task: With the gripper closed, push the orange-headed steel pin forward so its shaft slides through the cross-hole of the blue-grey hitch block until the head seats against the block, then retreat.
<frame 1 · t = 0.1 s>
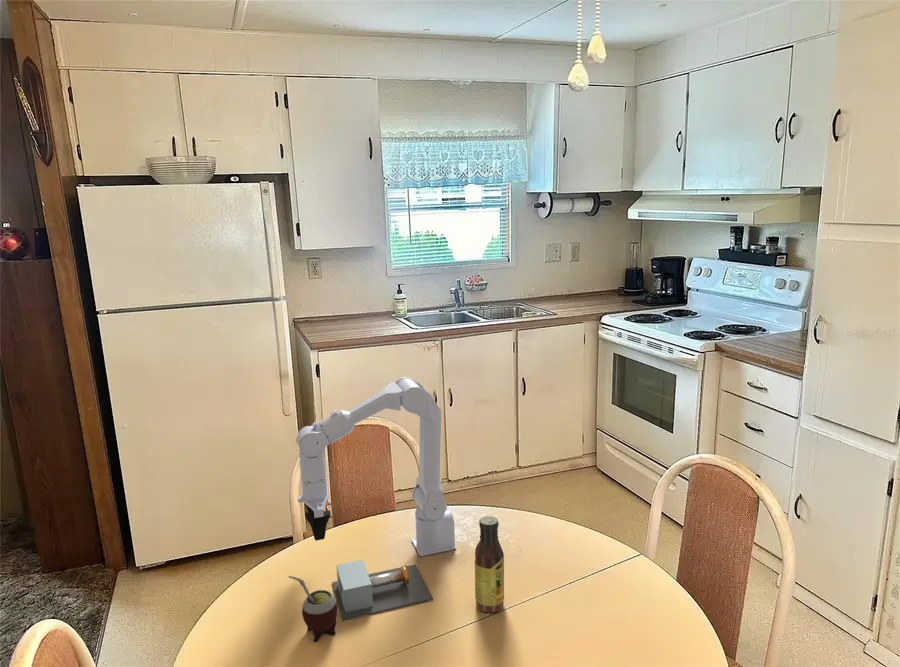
hand: (317, 531, 150), 10 cm above the table, tool pointing down, fingers open, 7 cm apart
mat: (381, 591, 143), on the table
hitch block: (355, 597, 141), resting on mat
sauce bottle: (489, 605, 137), on the table
mate gourd: (319, 634, 130), on the table
pin: (383, 580, 142), point 3 cm above the table, slide at 0.0 cm
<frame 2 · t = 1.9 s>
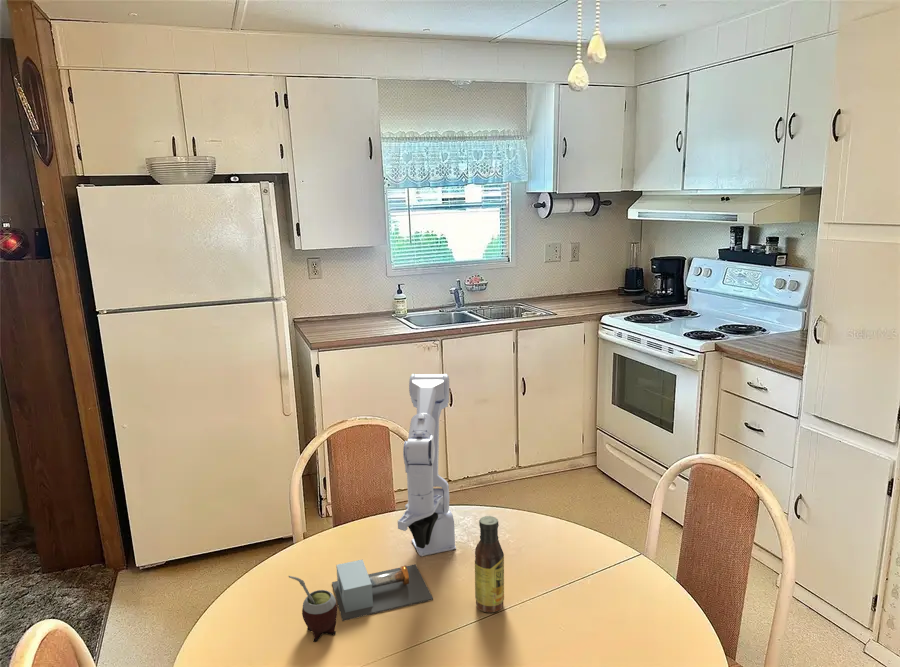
hand: (422, 545, 144), 9 cm above the table, tool pointing down, fingers closed
nothing on the table moved.
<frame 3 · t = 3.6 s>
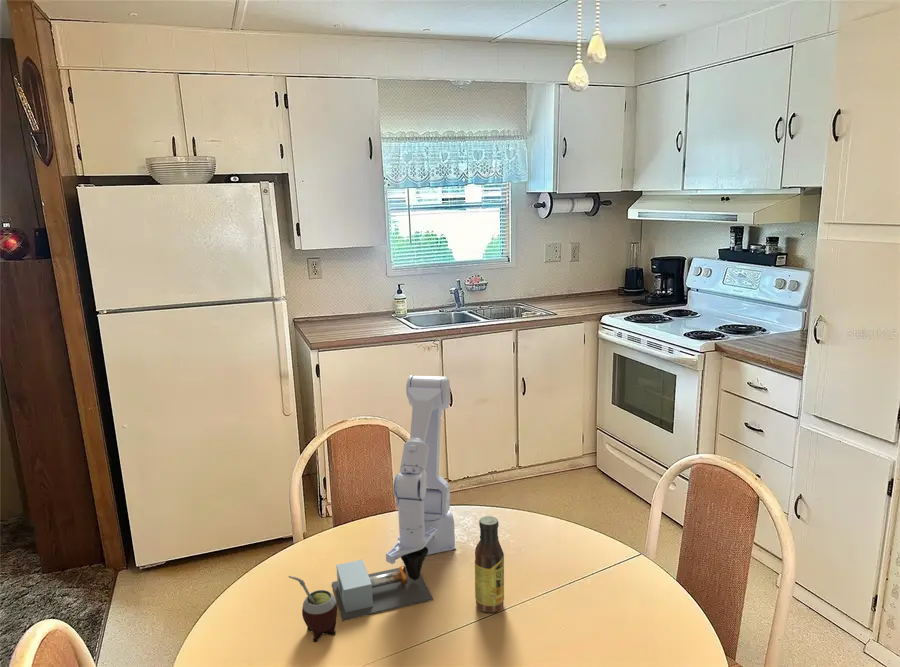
hand: (413, 577, 145), 2 cm above the table, tool pointing down, fingers closed
pin: (381, 580, 142), point 3 cm above the table, slide at 0.4 cm, touching gripper
everything else where it was.
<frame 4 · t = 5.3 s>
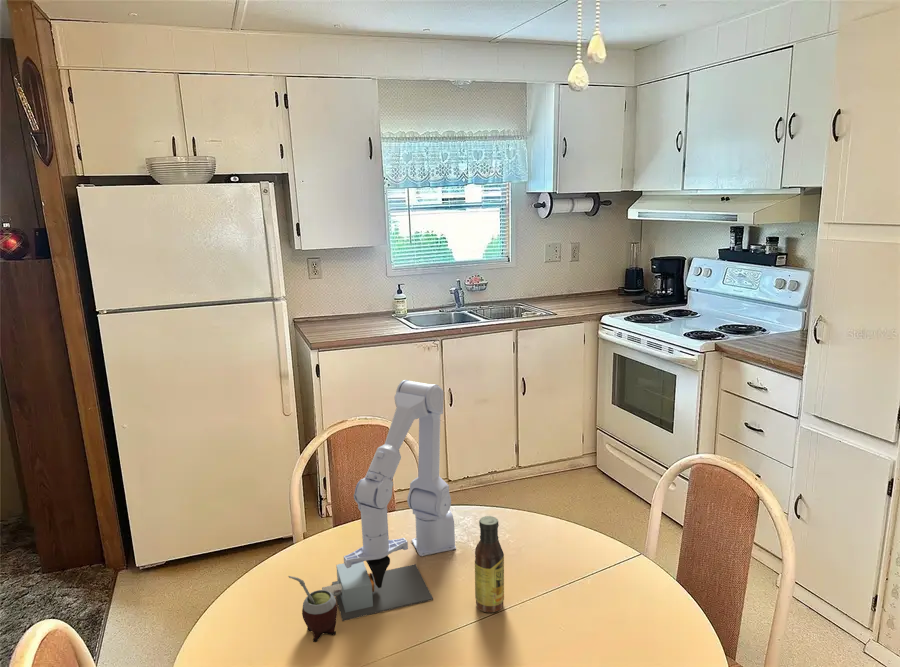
hand: (378, 585, 142), 2 cm above the table, tool pointing down, fingers closed
pin: (347, 587, 140), point 3 cm above the table, slide at 7.9 cm, touching gripper
everything else where it was.
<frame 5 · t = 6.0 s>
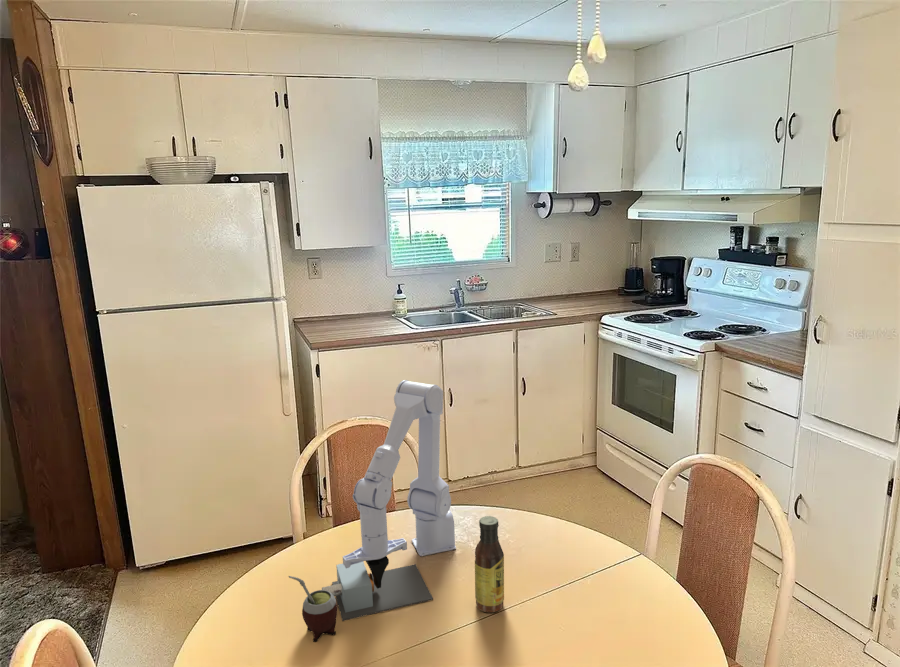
hand: (377, 585, 142), 2 cm above the table, tool pointing down, fingers closed
pin: (347, 587, 140), point 3 cm above the table, slide at 8.0 cm, touching gripper, hitch block
everything else where it was.
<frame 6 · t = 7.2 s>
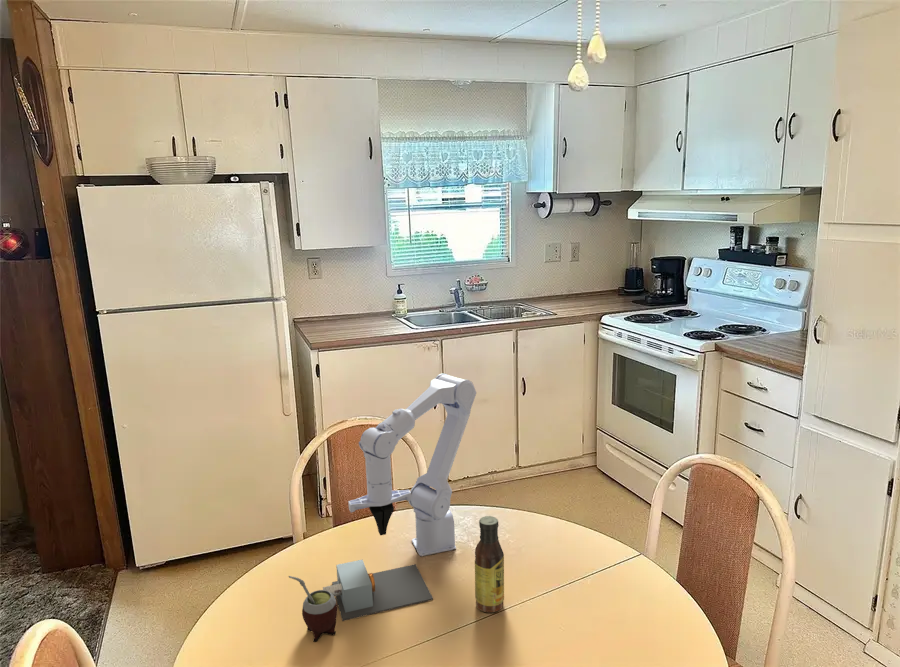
hand: (382, 532, 148), 10 cm above the table, tool pointing down, fingers closed
pin: (348, 587, 140), point 3 cm above the table, slide at 7.7 cm
everything else where it was.
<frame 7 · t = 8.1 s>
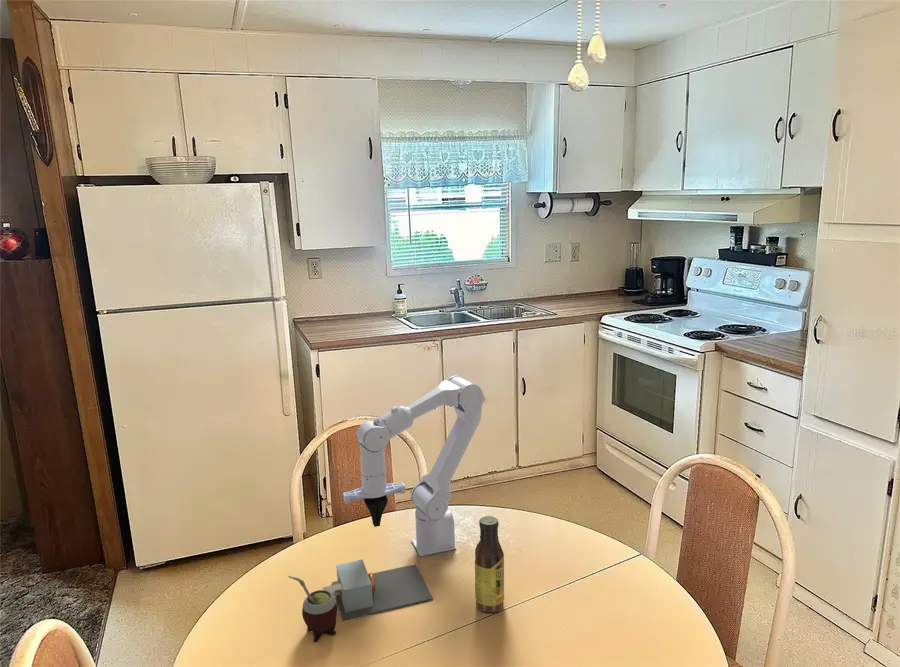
hand: (376, 524, 152), 10 cm above the table, tool pointing down, fingers closed
nothing on the table moved.
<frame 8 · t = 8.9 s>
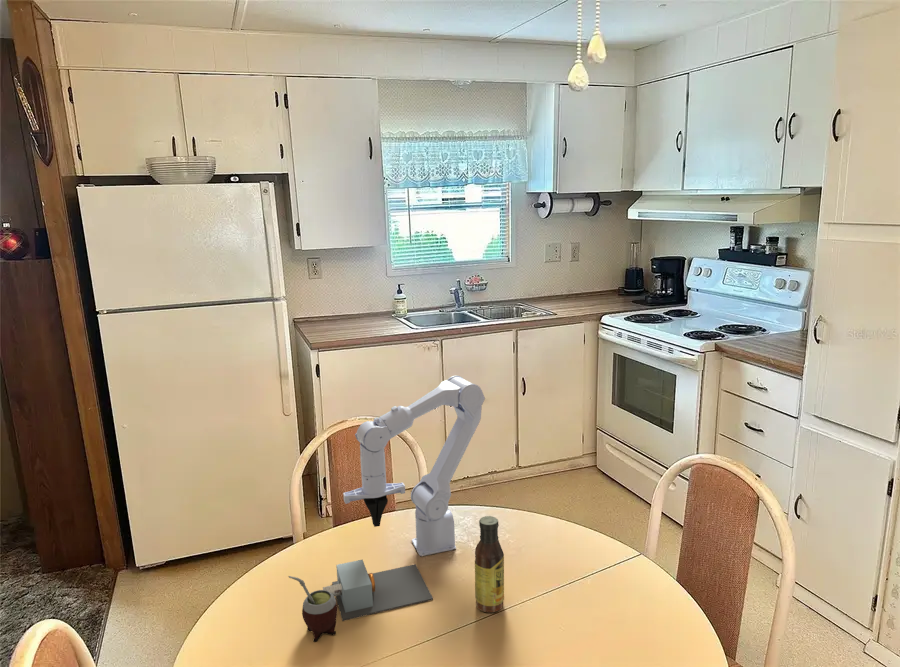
hand: (376, 524, 152), 10 cm above the table, tool pointing down, fingers closed
nothing on the table moved.
at the end: pin slide at 7.7 cm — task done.
